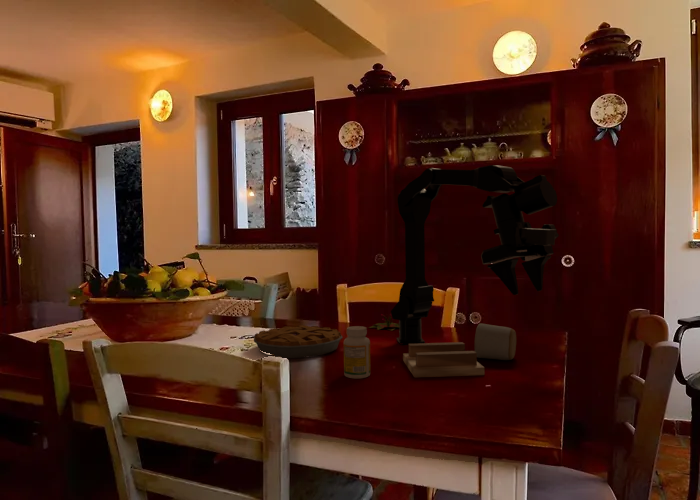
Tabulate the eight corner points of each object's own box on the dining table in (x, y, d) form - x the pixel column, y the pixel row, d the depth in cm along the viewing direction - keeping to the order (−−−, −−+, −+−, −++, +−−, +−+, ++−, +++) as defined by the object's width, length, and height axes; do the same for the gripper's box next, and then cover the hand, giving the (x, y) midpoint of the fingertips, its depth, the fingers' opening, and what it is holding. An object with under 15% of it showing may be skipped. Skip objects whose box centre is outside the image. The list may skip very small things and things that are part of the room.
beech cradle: (403, 360, 114) (402, 342, 114) (464, 358, 115) (464, 340, 115) (414, 377, 100) (414, 357, 100) (484, 375, 101) (484, 354, 101)
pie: (286, 365, 112) (286, 342, 112) (237, 349, 129) (237, 330, 129) (360, 349, 127) (359, 329, 127) (307, 337, 143) (307, 319, 143)
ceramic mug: (512, 364, 109) (512, 328, 109) (473, 360, 112) (473, 326, 112) (519, 354, 118) (518, 321, 118) (483, 351, 122) (483, 319, 122)
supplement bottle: (359, 380, 99) (358, 331, 98) (338, 376, 102) (337, 328, 102) (376, 374, 103) (375, 327, 103) (355, 370, 106) (354, 324, 106)
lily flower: (415, 327, 156) (415, 312, 156) (393, 334, 147) (393, 318, 147) (383, 324, 164) (382, 309, 163) (360, 330, 154) (360, 314, 154)
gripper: (517, 208, 98) (538, 288, 95) (566, 210, 110) (586, 281, 107) (471, 225, 106) (489, 299, 103) (521, 225, 118) (538, 291, 115)
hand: (528, 292), depth 107 cm, fingers open, 9 cm apart
